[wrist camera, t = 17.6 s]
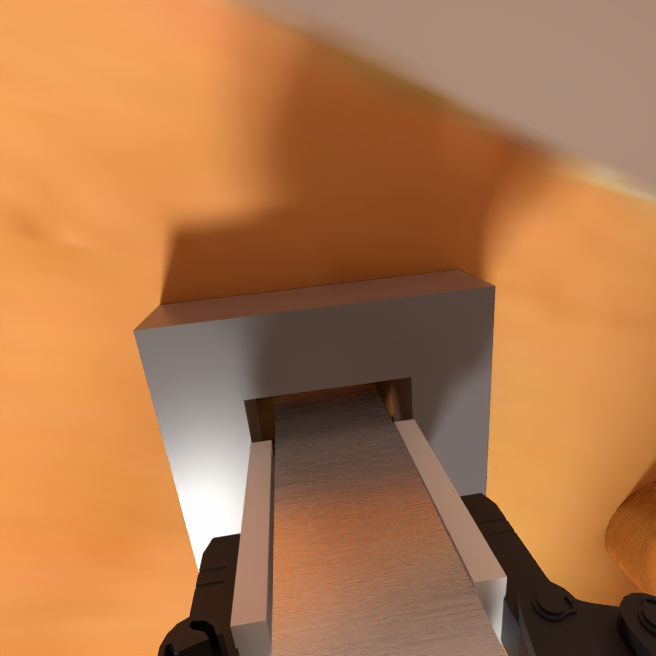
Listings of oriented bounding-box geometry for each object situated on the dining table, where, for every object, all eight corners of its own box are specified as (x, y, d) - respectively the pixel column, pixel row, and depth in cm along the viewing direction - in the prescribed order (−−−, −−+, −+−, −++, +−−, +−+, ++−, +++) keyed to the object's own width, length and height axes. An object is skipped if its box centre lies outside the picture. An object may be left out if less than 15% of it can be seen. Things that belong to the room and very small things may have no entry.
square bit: (367, 370, 18) (523, 689, 6) (373, 447, 19) (509, 824, 8) (276, 382, 17) (270, 741, 6) (288, 460, 19) (300, 871, 7)
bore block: (458, 269, 17) (495, 285, 14) (455, 502, 21) (483, 551, 18) (159, 304, 16) (133, 330, 13) (216, 541, 20) (206, 600, 17)
